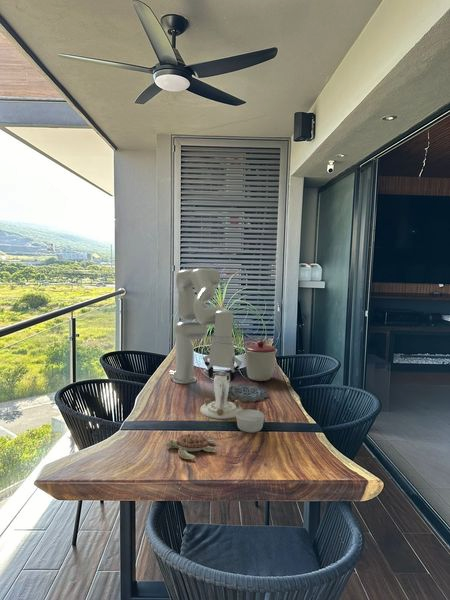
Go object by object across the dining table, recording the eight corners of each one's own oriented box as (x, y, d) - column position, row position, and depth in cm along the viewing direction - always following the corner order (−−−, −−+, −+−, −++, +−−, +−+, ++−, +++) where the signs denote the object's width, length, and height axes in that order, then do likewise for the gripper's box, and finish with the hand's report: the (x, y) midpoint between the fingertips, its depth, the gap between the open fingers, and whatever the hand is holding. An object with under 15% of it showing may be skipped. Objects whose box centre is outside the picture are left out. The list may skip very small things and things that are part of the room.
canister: (281, 377, 220) (282, 340, 218) (266, 385, 205) (268, 345, 203) (252, 372, 230) (254, 336, 228) (237, 379, 214) (238, 341, 212)
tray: (193, 415, 163) (193, 406, 162) (209, 401, 180) (209, 392, 179) (234, 421, 157) (235, 412, 156) (247, 406, 174) (247, 398, 173)
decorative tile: (273, 393, 194) (273, 388, 194) (257, 405, 176) (257, 400, 176) (236, 386, 203) (236, 382, 203) (218, 397, 185) (218, 393, 185)
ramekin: (244, 436, 144) (244, 422, 144) (230, 424, 154) (230, 411, 154) (270, 430, 149) (270, 417, 149) (254, 420, 159) (254, 407, 159)
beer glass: (231, 407, 170) (232, 373, 169) (225, 412, 164) (225, 377, 162) (217, 404, 173) (218, 370, 172) (210, 409, 167) (210, 374, 165)
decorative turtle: (168, 437, 142) (168, 424, 142) (214, 437, 143) (214, 424, 143) (164, 463, 124) (164, 447, 124) (216, 462, 125) (216, 447, 125)
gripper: (200, 338, 165) (199, 378, 167) (239, 343, 159) (238, 384, 161) (207, 335, 172) (206, 373, 174) (245, 339, 166) (243, 379, 168)
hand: (221, 378), depth 168 cm, fingers open, 9 cm apart
